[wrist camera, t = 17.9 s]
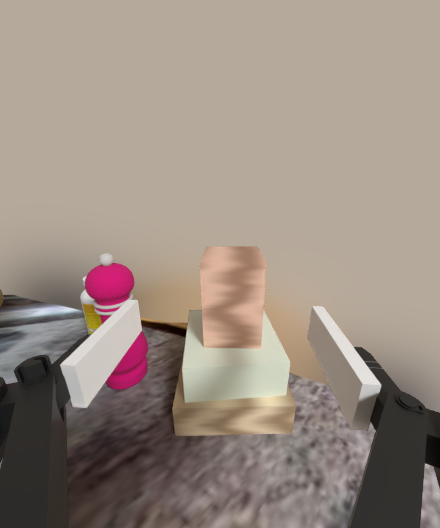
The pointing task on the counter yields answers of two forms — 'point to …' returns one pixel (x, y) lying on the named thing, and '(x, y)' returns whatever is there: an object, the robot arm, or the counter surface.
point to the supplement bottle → (90, 311)
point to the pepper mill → (106, 304)
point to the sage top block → (232, 366)
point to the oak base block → (232, 414)
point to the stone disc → (1, 298)
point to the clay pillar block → (232, 297)
